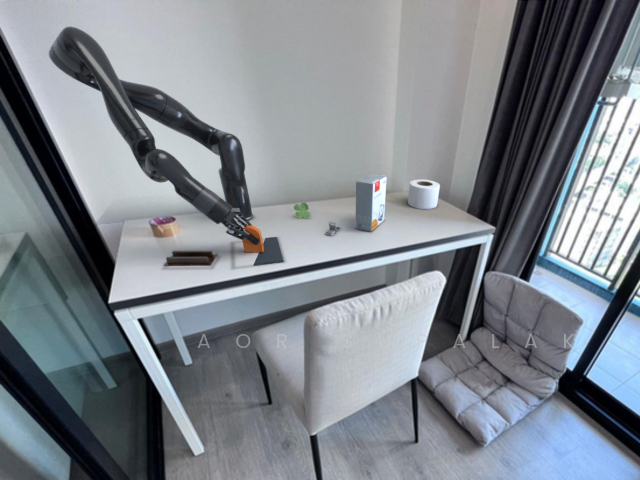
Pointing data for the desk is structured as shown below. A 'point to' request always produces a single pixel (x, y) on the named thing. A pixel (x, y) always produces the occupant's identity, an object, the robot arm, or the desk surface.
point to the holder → (191, 258)
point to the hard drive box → (370, 201)
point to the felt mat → (269, 252)
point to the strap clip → (332, 229)
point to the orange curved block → (249, 245)
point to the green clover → (302, 210)
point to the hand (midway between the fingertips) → (258, 241)
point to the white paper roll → (423, 194)
